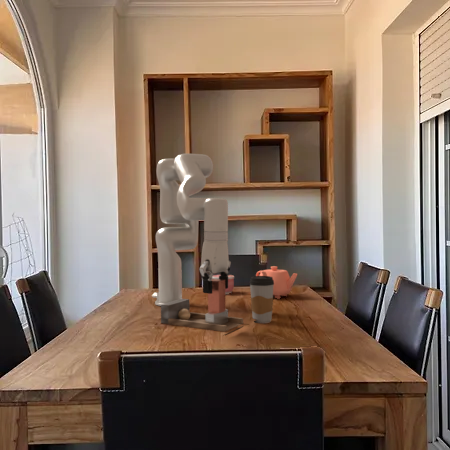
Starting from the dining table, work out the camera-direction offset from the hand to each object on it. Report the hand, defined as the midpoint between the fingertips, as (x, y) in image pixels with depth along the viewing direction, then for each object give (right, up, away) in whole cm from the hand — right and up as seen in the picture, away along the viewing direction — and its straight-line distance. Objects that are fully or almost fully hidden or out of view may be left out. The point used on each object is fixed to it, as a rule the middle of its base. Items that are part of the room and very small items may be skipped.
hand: (215, 290), depth 144 cm
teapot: (+25, -11, +56) cm, 62 cm away
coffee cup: (+16, -12, +9) cm, 22 cm away
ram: (0, -11, -1) cm, 11 cm away
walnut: (-10, -11, +6) cm, 16 cm away
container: (+2, -11, +68) cm, 69 cm away
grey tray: (-5, -12, +2) cm, 13 cm away
